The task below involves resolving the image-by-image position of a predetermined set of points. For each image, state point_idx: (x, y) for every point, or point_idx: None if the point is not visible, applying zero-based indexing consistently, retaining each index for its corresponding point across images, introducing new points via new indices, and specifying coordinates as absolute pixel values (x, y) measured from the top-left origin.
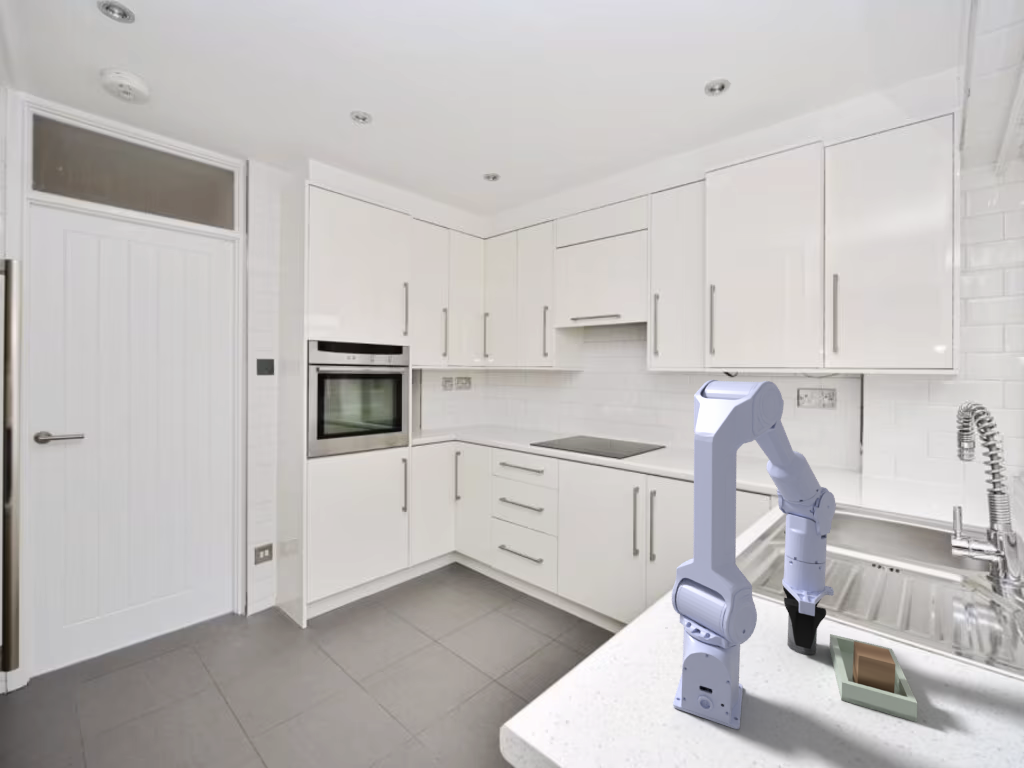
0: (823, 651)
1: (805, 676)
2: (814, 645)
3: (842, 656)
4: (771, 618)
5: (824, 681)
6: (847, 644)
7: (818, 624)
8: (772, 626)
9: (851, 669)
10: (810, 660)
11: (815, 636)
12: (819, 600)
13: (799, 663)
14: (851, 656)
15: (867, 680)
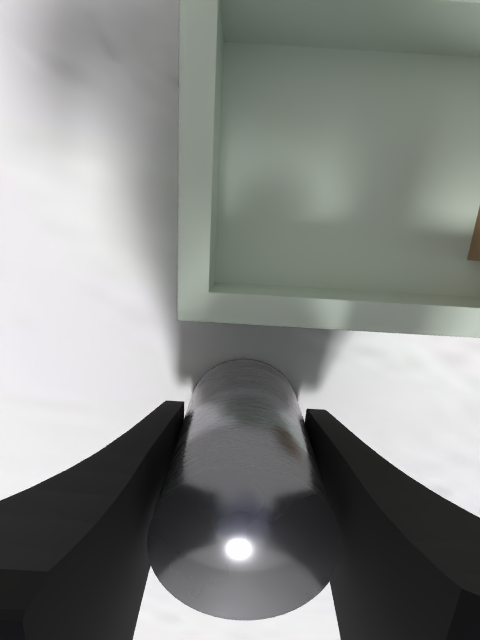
0: (216, 325)
1: (454, 416)
2: (281, 388)
3: (275, 265)
4: (26, 485)
5: (466, 358)
6: (213, 234)
7: (468, 514)
8: None
9: (387, 248)
10: (322, 385)
11: (280, 408)
12: (80, 548)
13: (365, 425)
14: (252, 221)
15: None
